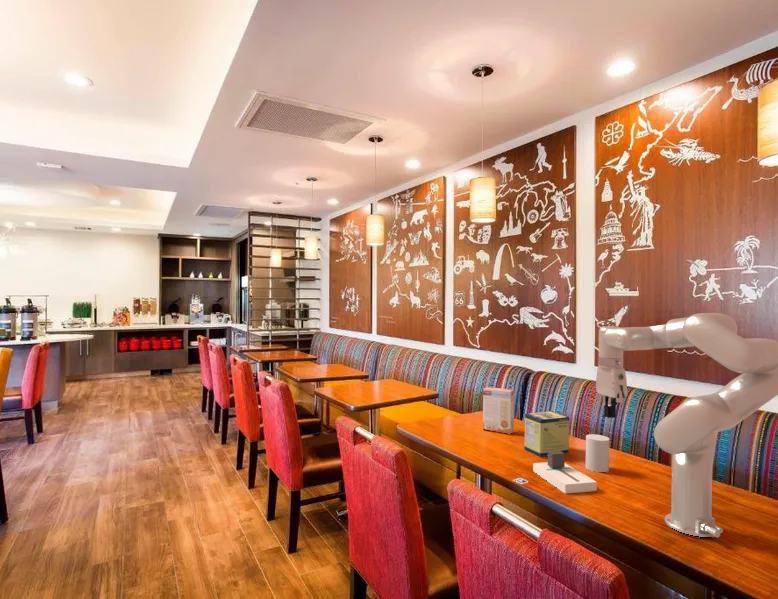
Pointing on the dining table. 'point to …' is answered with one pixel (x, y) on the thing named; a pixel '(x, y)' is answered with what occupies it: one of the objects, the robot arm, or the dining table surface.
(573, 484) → the fader console
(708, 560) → the dining table surface
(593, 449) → the white cylinder
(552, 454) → the fader knob
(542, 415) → the protein box
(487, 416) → the cracker box
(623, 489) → the dining table surface
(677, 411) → the robot arm
